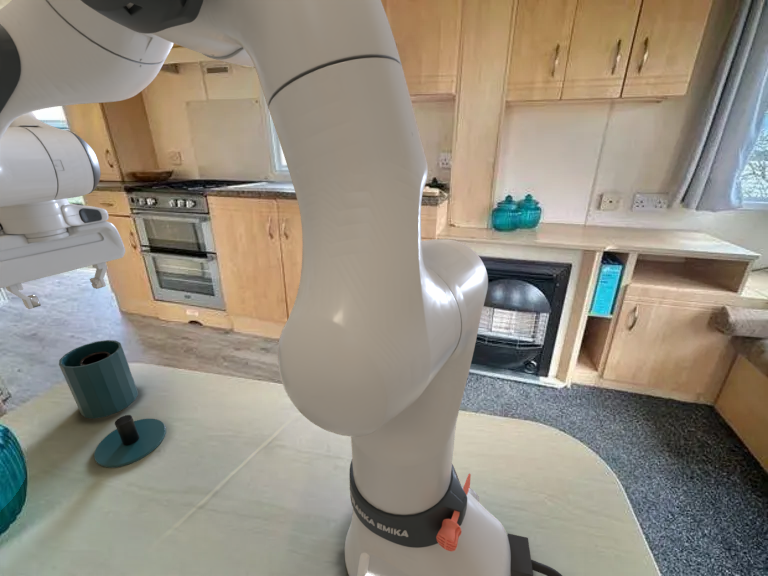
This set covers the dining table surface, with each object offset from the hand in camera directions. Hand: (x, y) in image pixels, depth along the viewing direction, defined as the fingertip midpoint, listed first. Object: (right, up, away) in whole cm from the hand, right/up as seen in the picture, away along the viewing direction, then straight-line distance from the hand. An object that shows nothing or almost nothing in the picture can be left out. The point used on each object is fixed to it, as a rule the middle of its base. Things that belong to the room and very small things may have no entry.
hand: (68, 296), depth 61 cm
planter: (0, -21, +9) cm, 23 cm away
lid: (+12, -25, -1) cm, 28 cm away
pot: (0, -22, +9) cm, 24 cm away
